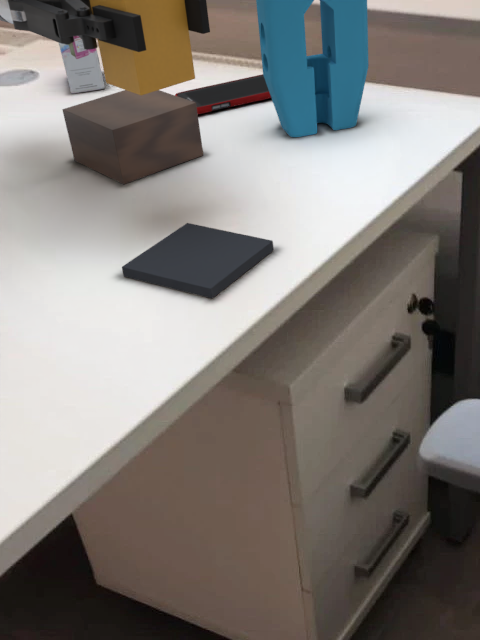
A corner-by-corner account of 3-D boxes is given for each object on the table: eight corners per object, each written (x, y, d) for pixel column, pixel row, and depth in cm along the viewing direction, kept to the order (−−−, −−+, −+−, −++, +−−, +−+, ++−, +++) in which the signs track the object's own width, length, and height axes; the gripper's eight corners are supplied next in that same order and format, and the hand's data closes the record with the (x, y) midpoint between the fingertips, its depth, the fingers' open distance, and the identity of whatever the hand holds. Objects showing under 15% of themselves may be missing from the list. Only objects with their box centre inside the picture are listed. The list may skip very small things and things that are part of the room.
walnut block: (123, 184, 98) (112, 130, 94) (74, 160, 104) (62, 109, 101) (203, 155, 103) (196, 102, 99) (151, 134, 110) (142, 84, 106)
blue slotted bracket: (357, 111, 111) (352, -72, 98) (372, 123, 107) (368, -65, 95) (266, 127, 109) (248, -57, 96) (277, 140, 105) (260, -50, 92)
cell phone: (296, 93, 118) (295, 85, 117) (193, 116, 113) (192, 108, 113) (272, 79, 123) (271, 72, 123) (173, 101, 119) (172, 93, 118)
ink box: (67, 77, 131) (48, -11, 124) (101, 73, 132) (84, -15, 125) (69, 94, 125) (48, 2, 117) (105, 89, 125) (86, -2, 118)
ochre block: (140, 95, 78) (118, -31, 72) (105, 83, 82) (81, -38, 76) (195, 78, 81) (178, -44, 75) (159, 67, 85) (140, -51, 78)
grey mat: (212, 298, 76) (210, 288, 76) (123, 276, 81) (121, 266, 80) (273, 250, 83) (273, 240, 82) (188, 232, 87) (187, 222, 86)
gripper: (-60, -32, 82) (64, -1, 68) (114, -67, 91) (255, -46, 77) (-35, 54, 87) (85, 99, 73) (128, 12, 96) (263, 45, 82)
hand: (172, 24), depth 75 cm, fingers closed on ochre block, 6 cm apart
